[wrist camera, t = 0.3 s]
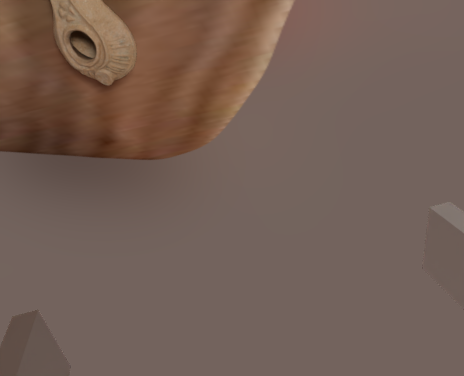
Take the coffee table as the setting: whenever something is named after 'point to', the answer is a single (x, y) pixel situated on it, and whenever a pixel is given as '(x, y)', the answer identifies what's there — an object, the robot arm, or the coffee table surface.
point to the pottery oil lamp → (93, 39)
